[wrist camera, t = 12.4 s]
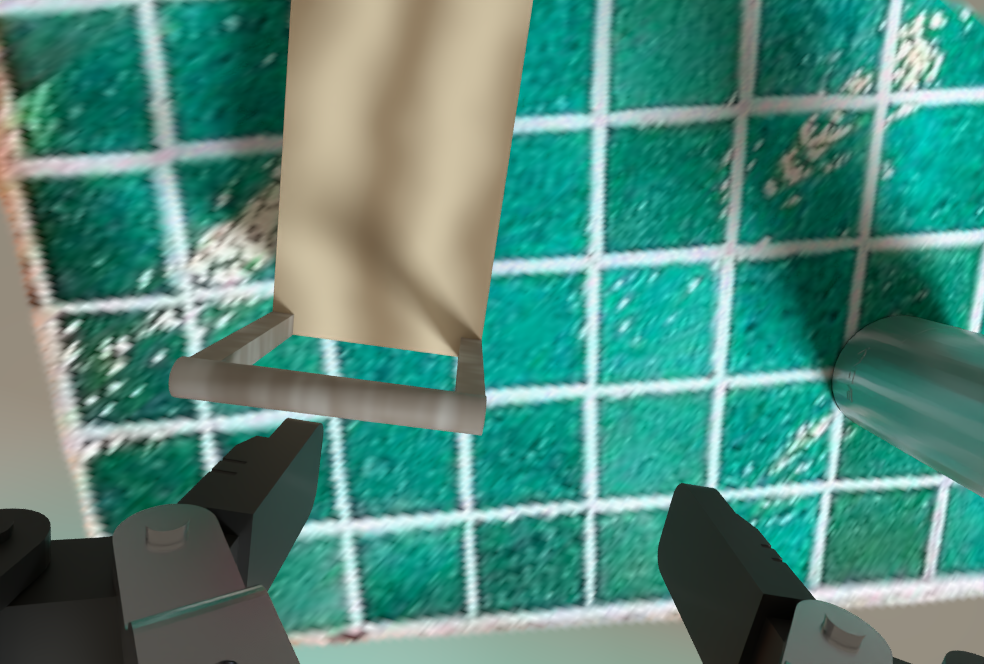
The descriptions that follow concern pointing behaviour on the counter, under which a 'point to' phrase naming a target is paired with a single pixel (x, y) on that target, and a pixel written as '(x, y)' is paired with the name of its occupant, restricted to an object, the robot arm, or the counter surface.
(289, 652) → the robot arm
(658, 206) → the counter surface
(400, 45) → the platform cart
